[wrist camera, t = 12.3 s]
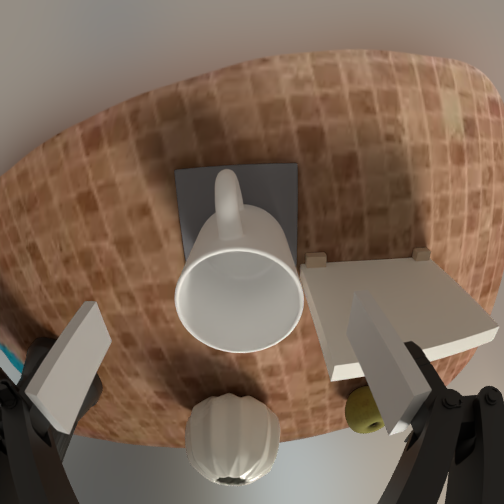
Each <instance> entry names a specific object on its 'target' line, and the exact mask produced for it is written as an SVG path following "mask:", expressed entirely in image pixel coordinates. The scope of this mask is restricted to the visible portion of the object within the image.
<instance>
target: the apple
mask: <svg viewBox="0 0 504 504" xmlns="http://www.w3.org/2000/svg"><path fill="white" fill-rule="evenodd" d="M345 417H346V420H347V423H348V425H349V427H350V428H351V429H352V430H353V431H355V432H357V433H363V434H364V433H370V432H375V431H377V430H379V429H381V428H382V427H384V426H385V424H384V422H383V419H382V417H381V414H380V412H379V409H378V407H377V404H376V402H375V399H374V397H373V394H372V392H371V390H370V387H369V386H364V387H360V388H358V389H356V390H355V391H353V392H352V393H351V394H350V396H349V397H348V399H347V402H346V407H345Z"/></svg>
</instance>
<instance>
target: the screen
mask: <svg viewBox="0 0 504 504" xmlns="http://www.w3.org/2000/svg"><path fill="white" fill-rule="evenodd" d="M430 254H431V251H430V250H429V249H428V248H427V247H426V248H414V249H413V254H412V258H398V259H382V260H365V261H347V262H329V263H326V261H327V256H326V254H325V252H318V253H305V264H300V280H301V283H302V286H303V290H304V293H305V296H306V299H307V302H308V306H309V309H310V312H311V315H312V318H313V322H314V325H315V328H316V332H317V335H318V338H319V342H320V345H321V349H322V352H323V355H324V359H325V362H326V366H327V369H328V373H329V377H330V380H331V381H338V380H345V379H351V378H357V377H363V376H365V375H364V373H363V371H362V368H361V366H360V364H359V361H358V359H357V357H356V355H355V352H354V350H353V348H352V346H351V343H350V341H349V339H348V337H347V335H346V332H347V328H348V322H349V317H350V312H351V306H352V301H353V295H354V291H361V290H368V291H369V292H370V294H371V295H372V296H373V298H374V299H375V301H376V302H377V304H378V305H379V307H380V308H381V310H382V311H383V312H384V314H385V315H386V317H387V318H388V320H389V321H390V323H391V324H392V326H393V327H394V329H395V331H396V332H397V334H398V335H399V337H400V338H401V340H402V341H403V343H404V342H409V341H413V342H414V343H415V344H417V345H418V346H419V347H421V349H422V350H423V352H424V353H425V355H426V357H427V358H428V360H429V361H433V360H437V359H440V358H444V357H447V356H450V355H453V354H457V353H460V352H463V351H466V350H469V349H471V348H474V347H477V346H479V345H482V344H485V343H487V342H490V341H492V340H493V339H494V337H495V335H496V333H497V330H498V329H499V325H498V324H497V323H496V322H495V321H494V320H493V319H492V318H491V317H490V315H489V314H488V313H487V312H486V311H485V310H484V309H483V308H482V307H481V306H480V305H479V304H478V303H477V302H476V301H475V300H474V299H473V298H472V297H471V296H470V295H469V294H468V293H467V292H466V291H465V290H464V289H463V288H462V287H461V286H460V285H459V284H458V283H457V282H456V281H455V280H453V279H452V278H451V277H450V276H449V275H448V274H447V273H446V272H445V271H444V270H443V269H441V268H440V267H439V266H438V265H437V264H436V263H435V262H434V261H432V260H431V259H430Z"/></svg>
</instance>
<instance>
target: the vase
mask: <svg viewBox="0 0 504 504" xmlns="http://www.w3.org/2000/svg"><path fill="white" fill-rule="evenodd" d="M279 440H280V424H279V420H278V417H277V415H276V414H275V413H273V412H272V411H271V410H270V409H269V408H268V407H267V406H266V405H265V404H264V403H262V402H260V401H258V400H257V399H255V398H253V397H251V396H249V395H248V396H243V397H238V396H236V395H234V394H231V393H227V394H224V395H222V396H219V397H216V396H211V397H209V398H207V399H205V400H203V401H202V402H200V403H198V404H197V405H195V406H194V407H193V410H192V413H191V416H190V417H189V418H188V421H187V424H186V430H185V445H186V453H187V457H188V460H189V462H190V464H191V465H192V466H193V467H194V468H195V469H196V470H197V471H198V472H199V473H200V474H202V475H203V476H204V477H205V478H207V479H208V480H210V481H212V482H215V483H216V484H220V485H226V486H241V485H247V484H250V483H252V482H254V481H256V480H258V479H260V478H261V477H263V476H264V475H265V474H267V473H268V472H270V470H271V468H272V466H273V463H274V461H275V459H276V456H277V452H278V447H279Z"/></svg>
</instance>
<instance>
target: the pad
mask: <svg viewBox="0 0 504 504" xmlns="http://www.w3.org/2000/svg"><path fill="white" fill-rule="evenodd" d="M224 169H230V170H232V171H233V172H234V173H235V174H236V176H237V179H238V182H239V186H240V190H241V194H242V199H243V204H247V205H252V206H256V207H259V208H261V209H263V210H265V211H266V212H268V213H269V214H271V215H272V216H273V217H274V218H275V219H276V220H277V222H278V223H279V224H280V226H281V228H282V230H283V232H284V234H285V237H286V240H287V243H288V246H289V249H290V252H291V255H292V258H293V261H294V264H295V267H296V260H297V210H298V167H297V163H268V164H243V165H225V166H211V167H198V168H187V169H177V170H174V172H175V182H176V191H177V200H178V209H179V217H180V224H181V232H182V239H183V246H184V253H185V259H186V261H187V259H188V257H189V255H190V252H191V250H192V248H193V246H194V243H195V241H196V239H197V237H198V235H199V232H200V230H201V228H202V227H203V225H204V224H205V222H206V221H207V220H208V219H209V217H211V216H212V215H213V214H214V213H216V210H215V181H216V177H217V175H218V173H219V172H220V171H222V170H224Z"/></svg>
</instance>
